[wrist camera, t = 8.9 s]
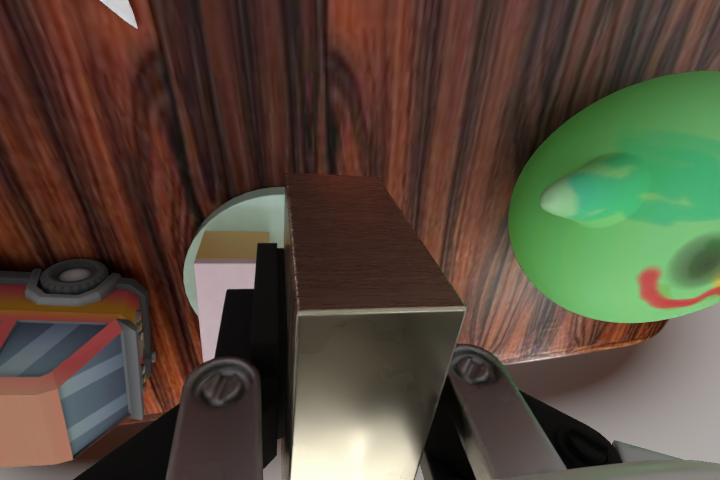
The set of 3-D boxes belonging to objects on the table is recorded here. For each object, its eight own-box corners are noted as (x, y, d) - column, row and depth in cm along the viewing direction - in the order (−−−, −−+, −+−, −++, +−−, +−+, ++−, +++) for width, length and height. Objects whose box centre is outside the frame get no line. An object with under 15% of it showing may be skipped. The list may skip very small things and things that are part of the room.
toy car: (-127, 241, 25) (-335, 358, 16) (159, 260, 29) (112, 360, 21) (-73, 369, 30) (-209, 507, 22) (163, 369, 35) (127, 483, 26)
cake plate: (289, 144, 27) (289, 150, 26) (406, 271, 34) (411, 280, 33) (143, 271, 30) (137, 283, 28) (281, 363, 37) (281, 376, 36)
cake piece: (204, 230, 27) (193, 263, 24) (269, 231, 28) (268, 263, 25) (211, 327, 31) (203, 368, 28) (268, 326, 32) (267, 364, 29)
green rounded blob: (509, 284, 37) (626, 418, 25) (439, 141, 29) (566, 235, 16) (683, 183, 35) (907, 274, 23) (665, -4, 27) (1009, -23, 14)
